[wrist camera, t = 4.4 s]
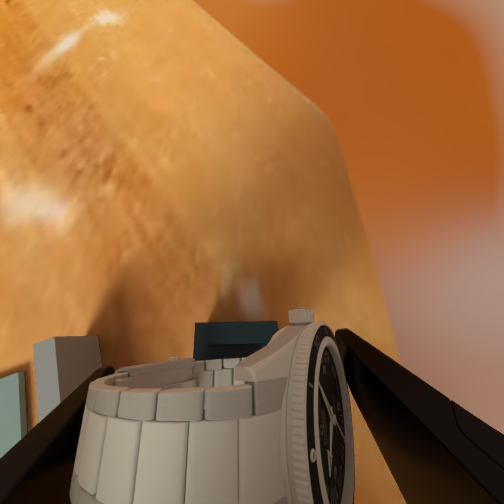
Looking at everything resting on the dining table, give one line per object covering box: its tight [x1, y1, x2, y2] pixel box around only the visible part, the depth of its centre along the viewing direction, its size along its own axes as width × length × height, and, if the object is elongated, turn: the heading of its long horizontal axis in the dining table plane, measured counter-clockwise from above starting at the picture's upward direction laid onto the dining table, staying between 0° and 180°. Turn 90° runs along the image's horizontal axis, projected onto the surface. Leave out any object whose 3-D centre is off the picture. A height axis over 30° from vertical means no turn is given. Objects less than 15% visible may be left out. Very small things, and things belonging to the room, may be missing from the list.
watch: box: [70, 309, 355, 504], centre depth 9 cm, size 6×8×11 cm
